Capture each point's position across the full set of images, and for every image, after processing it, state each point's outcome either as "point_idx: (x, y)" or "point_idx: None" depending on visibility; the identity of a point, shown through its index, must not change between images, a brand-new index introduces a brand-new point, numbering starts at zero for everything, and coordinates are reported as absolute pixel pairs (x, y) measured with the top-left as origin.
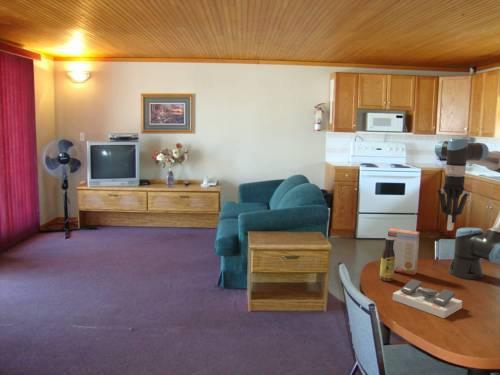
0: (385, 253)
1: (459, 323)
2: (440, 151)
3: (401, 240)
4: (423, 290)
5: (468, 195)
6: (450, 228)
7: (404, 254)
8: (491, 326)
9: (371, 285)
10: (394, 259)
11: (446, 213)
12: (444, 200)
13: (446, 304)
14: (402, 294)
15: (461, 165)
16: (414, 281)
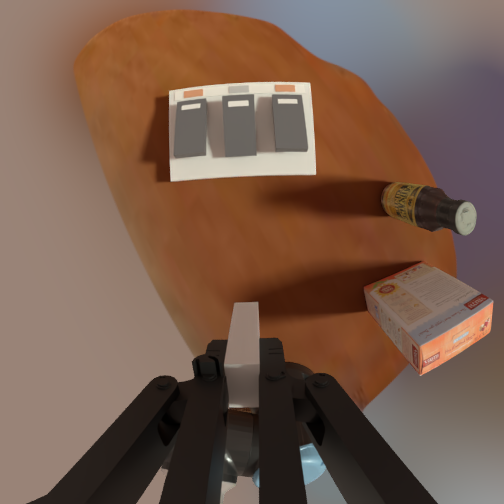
0: (436, 190)
1: (143, 104)
2: None
3: (445, 307)
4: (236, 96)
5: None
6: (233, 308)
7: (412, 295)
8: (102, 150)
9: (391, 133)
10: (409, 209)
11: (279, 371)
12: (352, 488)
13: None
14: (287, 87)
15: None
16: (294, 140)
